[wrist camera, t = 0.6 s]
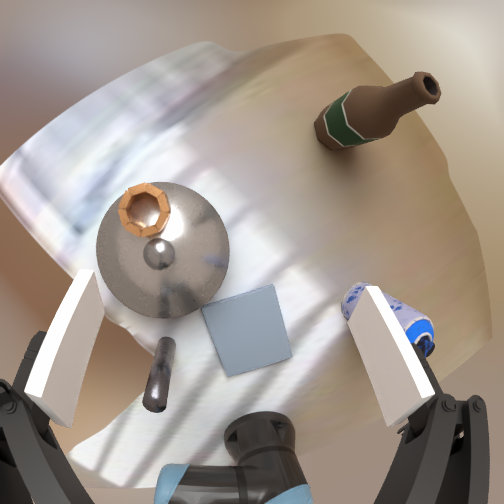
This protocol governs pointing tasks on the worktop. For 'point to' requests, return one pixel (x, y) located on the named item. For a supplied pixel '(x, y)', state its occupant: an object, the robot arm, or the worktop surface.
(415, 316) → the aerosol can
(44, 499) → the robot arm
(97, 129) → the worktop surface
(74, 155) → the worktop surface
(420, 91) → the beer bottle
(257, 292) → the plate
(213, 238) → the disc
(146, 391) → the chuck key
